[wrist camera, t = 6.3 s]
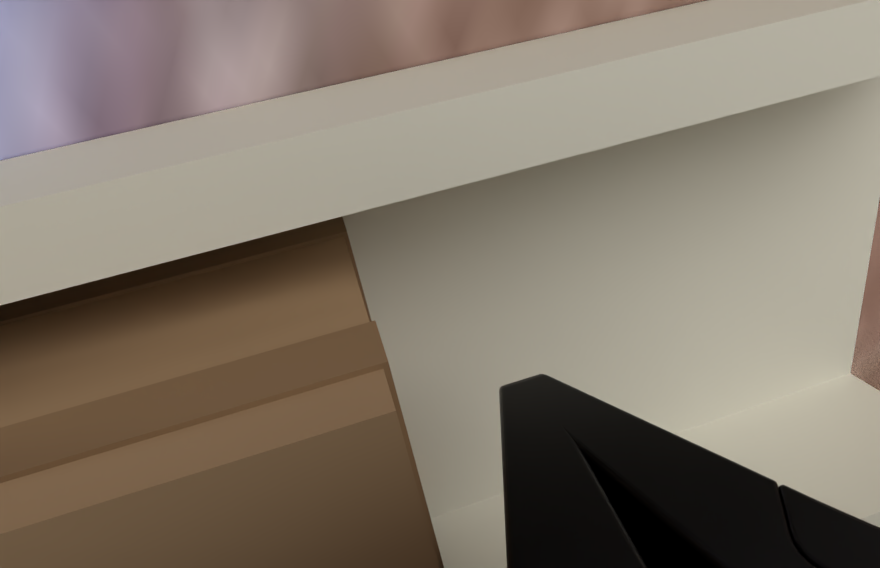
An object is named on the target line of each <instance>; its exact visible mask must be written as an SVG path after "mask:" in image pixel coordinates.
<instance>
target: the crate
mask: <svg viewBox="0 0 880 568" xmlns="http://www.w3.org/2000/svg"><path fill="white" fill-rule="evenodd" d="M0 568H444V565H443V562H442V558H441V554H440V551H439V547H438V543H437V540H436V536H435V532H434V529H433V525H432V521H431V517H430V514H429V510H428V506H427V503H426V499H425V495H424V492H423V488H422V484H421V481H420V477H419V473H418V469H417V466H416V462H415V458H414V455H413V451H412V447H411V444H410V440H409V436H408V432H407V429H406V425H405V421H404V418H403V414H402V410H401V407H400V403H399V399H398V396H397V392H396V388H395V384H394V381H393V377H392V373H391V370H390V366H389V362H388V359H387V356H386V353H385V350H384V346H383V343H382V340H381V337H380V334H379V331H378V328H377V324H376V321H372V320H371V317H370V313H369V310H368V306H367V302H366V299H365V295H364V291H363V288H362V284H361V281H360V277H359V273H358V270H357V266H356V262H355V259H354V255H353V252H352V248H351V244H350V241H349V237H348V233H347V230H346V227H345V224H344V221H343V217H342V216H341V217H338V218H334V219H330V220H326V221H322V222H318V223H315V224H311V225H307V226H303V227H299V228H295V229H292V230H288V231H284V232H280V233H276V234H272V235H269V236H265V237H261V238H257V239H253V240H249V241H246V242H242V243H238V244H234V245H230V246H226V247H223V248H219V249H215V250H211V251H207V252H203V253H200V254H196V255H192V256H188V257H184V258H180V259H177V260H173V261H169V262H165V263H161V264H157V265H154V266H150V267H146V268H142V269H138V270H134V271H131V272H127V273H123V274H119V275H115V276H111V277H108V278H104V279H100V280H96V281H92V282H88V283H84V284H81V285H77V286H73V287H69V288H65V289H61V290H58V291H54V292H50V293H46V294H42V295H38V296H35V297H31V298H27V299H23V300H19V301H15V302H12V303H8V304H4V305H0Z"/></svg>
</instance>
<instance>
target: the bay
mask: <svg viewBox="0 0 880 568" xmlns="http://www.w3.org/2000/svg"><path fill="white" fill-rule="evenodd" d="M879 199H880V0H707V1H703V2H698V3H694V4H689V5H685V6H681V7H676V8H672V9H667V10H663V11H659V12H654V13H650V14H645V15H641V16H637V17H632V18H628V19H623V20H619V21H614V22H610V23H606V24H601V25H597V26H592V27H588V28H584V29H579V30H575V31H570V32H566V33H562V34H557V35H553V36H548V37H544V38H540V39H535V40H531V41H526V42H522V43H517V44H513V45H509V46H504V47H500V48H495V49H491V50H487V51H482V52H478V53H473V54H469V55H465V56H460V57H456V58H451V59H447V60H442V61H438V62H434V63H429V64H425V65H420V66H416V67H412V68H407V69H403V70H398V71H394V72H390V73H385V74H381V75H376V76H372V77H367V78H363V79H359V80H354V81H350V82H345V83H341V84H337V85H332V86H328V87H323V88H319V89H315V90H310V91H306V92H301V93H297V94H292V95H288V96H284V97H279V98H275V99H270V100H266V101H262V102H257V103H253V104H248V105H244V106H240V107H235V108H231V109H226V110H222V111H217V112H213V113H209V114H204V115H200V116H195V117H191V118H187V119H182V120H178V121H173V122H169V123H165V124H160V125H156V126H151V127H147V128H142V129H138V130H134V131H129V132H125V133H120V134H116V135H112V136H107V137H103V138H98V139H94V140H90V141H85V142H81V143H76V144H72V145H67V146H63V147H59V148H54V149H50V150H45V151H41V152H37V153H32V154H28V155H23V156H19V157H15V158H10V159H6V160H1V161H0V305H4V304H8V303H12V302H15V301H19V300H23V299H27V298H31V297H35V296H38V295H42V294H46V293H50V292H54V291H58V290H61V289H65V288H69V287H73V286H77V285H81V284H84V283H88V282H92V281H96V280H100V279H104V278H108V277H111V276H115V275H119V274H123V273H127V272H131V271H134V270H138V269H142V268H146V267H150V266H154V265H157V264H161V263H165V262H169V261H173V260H177V259H180V258H184V257H188V256H192V255H196V254H200V253H203V252H207V251H211V250H215V249H219V248H223V247H226V246H230V245H234V244H238V243H242V242H246V241H249V240H253V239H257V238H261V237H265V236H269V235H272V234H276V233H280V232H284V231H288V230H292V229H295V228H299V227H303V226H307V225H311V224H315V223H318V222H322V221H326V220H330V219H334V218H338V217H341V216H342V217H343V221H344V224H345V227H346V230H347V233H348V237H349V241H350V244H351V248H352V252H353V255H354V259H355V262H356V266H357V270H358V273H359V277H360V281H361V284H362V288H363V291H364V295H365V299H366V302H367V306H368V310H369V313H370V317H371V320H372V321H376V324H377V328H378V331H379V334H380V337H381V340H382V343H383V346H384V350H385V353H386V356H387V359H388V362H389V366H390V370H391V373H392V377H393V381H394V384H395V388H396V392H397V396H398V399H399V403H400V407H401V410H402V414H403V418H404V421H405V425H406V429H407V432H408V436H409V440H410V444H411V447H412V451H413V455H414V458H415V462H416V466H417V469H418V473H419V477H420V481H421V484H422V488H423V492H424V495H425V499H426V503H427V506H428V510H429V514H430V517H431V521H432V525H433V529H434V532H435V536H436V540H437V543H438V547H439V551H440V554H441V558H442V562H443V565H444V568H507V557H506V535H505V513H504V491H503V469H502V447H501V425H500V403H499V389H500V387H501V386H503V385H506V384H509V383H512V382H515V381H519V380H522V379H525V378H528V377H532V376H535V375H538V374H546V375H548V376H550V377H553V378H555V379H557V380H559V381H561V382H563V383H565V384H568V385H570V386H572V387H574V388H576V389H578V390H581V391H583V392H585V393H587V394H589V395H591V396H593V397H596V398H598V399H600V400H602V401H604V402H606V403H609V404H611V405H613V406H615V407H617V408H619V409H622V410H624V411H626V412H628V413H630V414H632V415H634V416H637V417H639V418H641V419H643V420H645V421H647V422H650V423H652V424H654V425H656V426H658V427H660V428H662V429H665V430H667V431H669V432H671V433H673V434H675V435H678V436H680V437H682V438H684V439H686V440H688V441H690V442H693V443H695V444H697V445H699V446H701V447H703V448H706V449H708V450H710V451H712V452H714V453H716V454H718V455H721V456H723V457H725V458H727V459H729V460H731V461H734V462H736V463H738V464H740V465H742V466H744V467H747V468H749V469H751V470H753V471H755V472H757V473H759V474H762V475H764V476H766V477H768V478H770V479H772V480H774V481H776V482H777V484H778V487H779V486H780V485H786V486H788V487H790V488H792V489H794V490H797V491H799V492H801V493H803V494H805V495H807V496H810V497H812V498H814V499H816V500H818V501H821V502H823V503H825V504H827V505H830V506H832V507H834V508H836V509H839V510H841V511H843V512H845V513H848V514H850V515H852V516H855V517H857V518H859V519H861V520H864V521H866V522H868V523H870V524H873V525H875V526H878V527H880V391H879V390H877V389H875V388H874V387H872V386H870V385H869V384H867V383H866V382H864V381H862V380H861V379H859V378H857V377H856V376H854V375H852V374H851V367H852V361H853V355H854V349H855V343H856V337H857V331H858V325H859V319H860V313H861V307H862V301H863V295H864V289H865V283H866V277H867V271H868V265H869V259H870V253H871V247H872V241H873V235H874V229H875V223H876V217H877V211H878V205H879Z"/></svg>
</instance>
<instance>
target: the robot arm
mask: <svg viewBox="0 0 880 568" xmlns="http://www.w3.org/2000/svg"><path fill="white" fill-rule="evenodd" d="M499 403H500V425H501V447H502V469H503V491H504V513H505V535H506V557H507V568H880V527H878V526H875V525H873V524H870V523H868V522H866V521H864V520H861V519H859V518H857V517H855V516H852V515H850V514H848V513H845V512H843V511H841V510H839V509H836V508H834V507H832V506H830V505H827V504H825V503H823V502H821V501H818V500H816V499H814V498H812V497H810V496H807V495H805V494H803V493H801V492H799V491H797V490H794V489H792V488H790V487H788V486H786V485H780V486H779V487H778V484H777V482H776V481H774V480H772V479H770V478H768V477H766V476H764V475H762V474H759V473H757V472H755V471H753V470H751V469H749V468H747V467H744V466H742V465H740V464H738V463H736V462H734V461H731V460H729V459H727V458H725V457H723V456H721V455H718V454H716V453H714V452H712V451H710V450H708V449H706V448H703V447H701V446H699V445H697V444H695V443H693V442H690V441H688V440H686V439H684V438H682V437H680V436H678V435H675V434H673V433H671V432H669V431H667V430H665V429H662V428H660V427H658V426H656V425H654V424H652V423H650V422H647V421H645V420H643V419H641V418H639V417H637V416H634V415H632V414H630V413H628V412H626V411H624V410H622V409H619V408H617V407H615V406H613V405H611V404H609V403H606V402H604V401H602V400H600V399H598V398H596V397H593V396H591V395H589V394H587V393H585V392H583V391H581V390H578V389H576V388H574V387H572V386H570V385H568V384H565V383H563V382H561V381H559V380H557V379H555V378H553V377H550V376H548V375H546V374H538V375H535V376H532V377H528V378H525V379H522V380H519V381H515V382H512V383H509V384H506V385H503V386H501V387H500V389H499Z"/></svg>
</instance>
